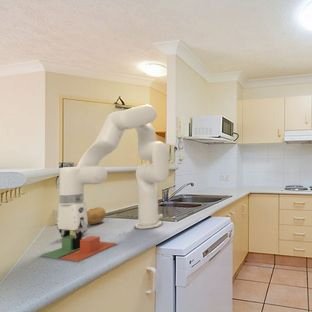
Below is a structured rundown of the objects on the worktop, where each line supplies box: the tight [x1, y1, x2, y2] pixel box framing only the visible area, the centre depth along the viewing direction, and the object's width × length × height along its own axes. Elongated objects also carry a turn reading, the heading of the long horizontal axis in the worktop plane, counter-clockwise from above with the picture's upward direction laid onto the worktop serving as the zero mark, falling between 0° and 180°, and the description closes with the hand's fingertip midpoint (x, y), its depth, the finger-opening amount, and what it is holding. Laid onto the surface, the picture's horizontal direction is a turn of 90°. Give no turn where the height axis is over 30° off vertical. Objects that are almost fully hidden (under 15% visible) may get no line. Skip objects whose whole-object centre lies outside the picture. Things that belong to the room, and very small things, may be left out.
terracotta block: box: [80, 235, 101, 253], centre depth 85 cm, size 4×4×4 cm
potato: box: [87, 206, 107, 225], centre depth 123 cm, size 10×14×8 cm
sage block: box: [61, 234, 74, 251], centre depth 88 cm, size 4×4×4 cm
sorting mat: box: [41, 241, 117, 263], centre depth 87 cm, size 16×17×1 cm
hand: (71, 247), depth 88 cm, fingers closed on sage block, 4 cm apart
